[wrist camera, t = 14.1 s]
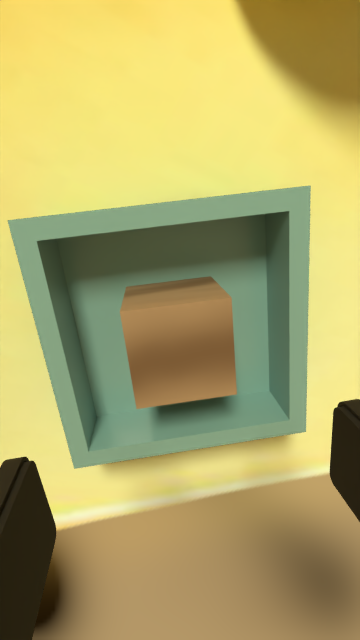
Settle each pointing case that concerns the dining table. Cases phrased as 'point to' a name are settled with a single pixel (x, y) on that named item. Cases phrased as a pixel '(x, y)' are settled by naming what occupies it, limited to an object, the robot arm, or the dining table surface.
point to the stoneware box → (162, 266)
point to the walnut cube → (179, 341)
